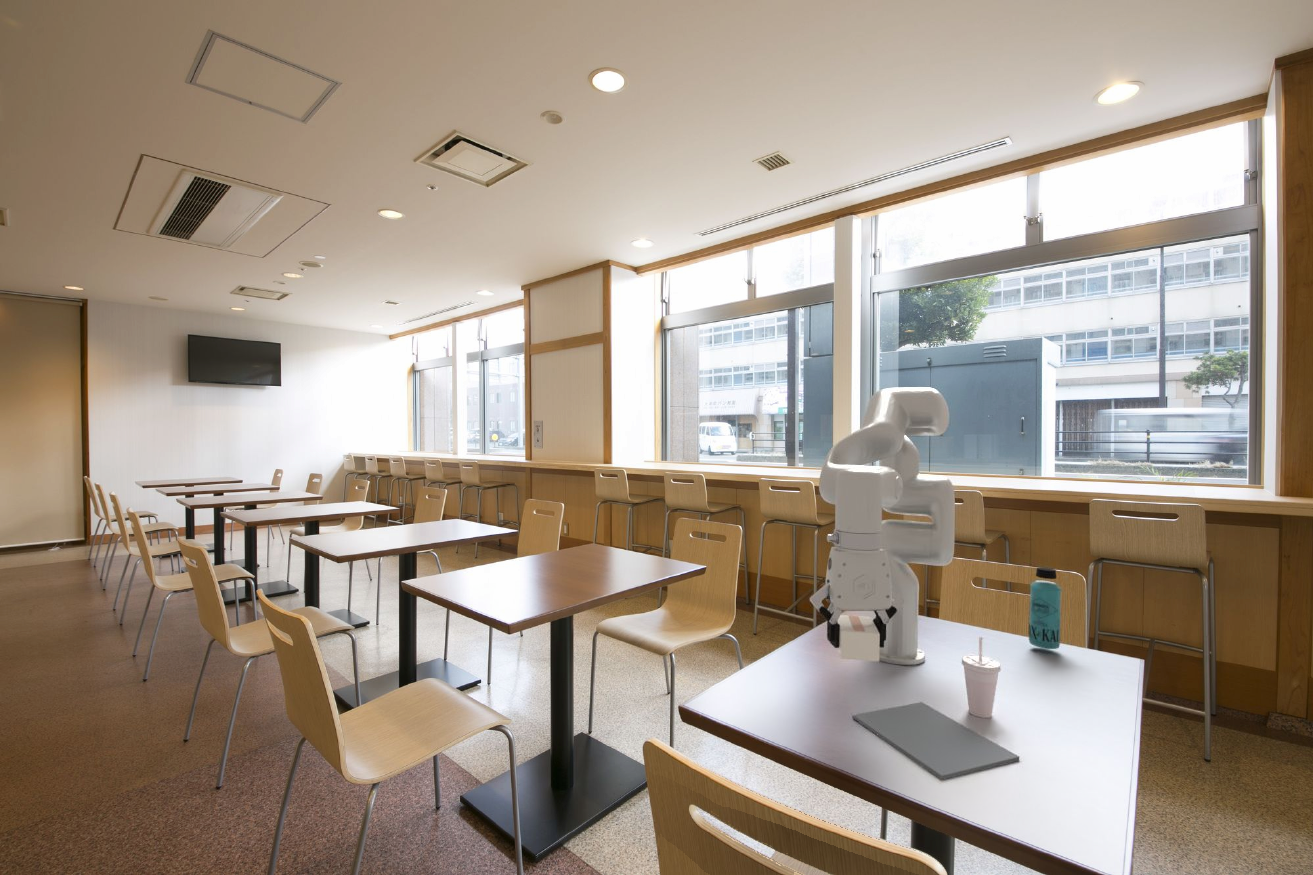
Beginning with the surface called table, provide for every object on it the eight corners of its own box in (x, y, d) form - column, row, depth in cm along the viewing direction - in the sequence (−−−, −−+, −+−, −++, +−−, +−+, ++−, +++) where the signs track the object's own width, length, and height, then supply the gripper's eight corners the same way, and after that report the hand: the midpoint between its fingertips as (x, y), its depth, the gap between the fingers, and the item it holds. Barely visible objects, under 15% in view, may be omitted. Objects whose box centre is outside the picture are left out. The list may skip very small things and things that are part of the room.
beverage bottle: (1028, 643, 146) (1030, 563, 146) (1061, 649, 142) (1062, 567, 142) (1027, 651, 141) (1028, 568, 141) (1060, 658, 137) (1062, 572, 137)
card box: (835, 639, 105) (835, 613, 105) (870, 642, 104) (870, 615, 104) (840, 658, 96) (841, 630, 96) (879, 661, 95) (879, 632, 95)
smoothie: (995, 708, 111) (997, 634, 111) (1003, 724, 105) (1005, 645, 105) (958, 702, 113) (959, 630, 113) (963, 717, 107) (965, 641, 107)
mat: (852, 718, 106) (852, 714, 106) (921, 705, 112) (921, 702, 112) (941, 779, 87) (941, 775, 87) (1019, 760, 93) (1019, 756, 93)
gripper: (814, 545, 96) (813, 653, 96) (918, 545, 97) (916, 652, 97) (801, 536, 103) (799, 637, 103) (897, 537, 104) (895, 636, 104)
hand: (856, 644), depth 100 cm, fingers closed on card box, 7 cm apart
